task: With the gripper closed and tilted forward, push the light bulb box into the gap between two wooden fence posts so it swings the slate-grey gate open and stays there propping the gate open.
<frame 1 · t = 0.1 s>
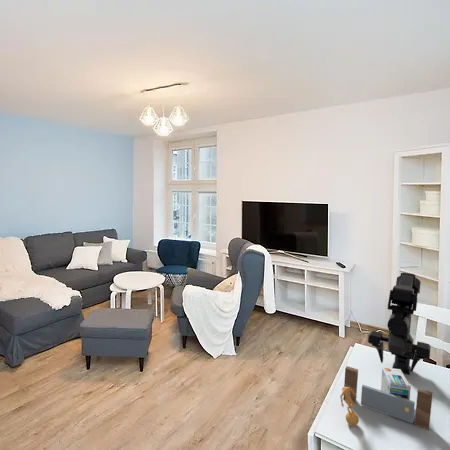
hand: (396, 366, 113), 15 cm above the table, tool pointing down, fingers open, 9 cm apart
light bulb box: (393, 404, 116), on the table
gate: (386, 404, 110), point 4 cm above the table, hinge at 0.0°
wooden fence posts: (390, 414, 110), on the table
figurine: (348, 423, 106), on the table
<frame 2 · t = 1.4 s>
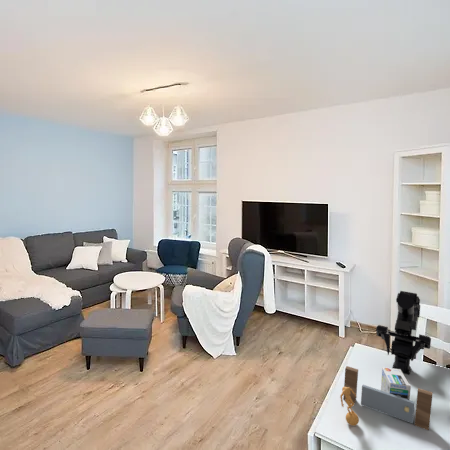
hand: (399, 357, 124), 12 cm above the table, tool tilted 45°, fingers open, 8 cm apart
nothing on the table moved.
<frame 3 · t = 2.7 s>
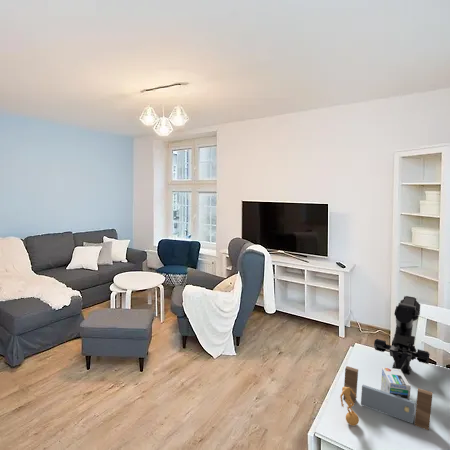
hand: (397, 372, 122), 8 cm above the table, tool tilted 45°, fingers closed
nothing on the table moved.
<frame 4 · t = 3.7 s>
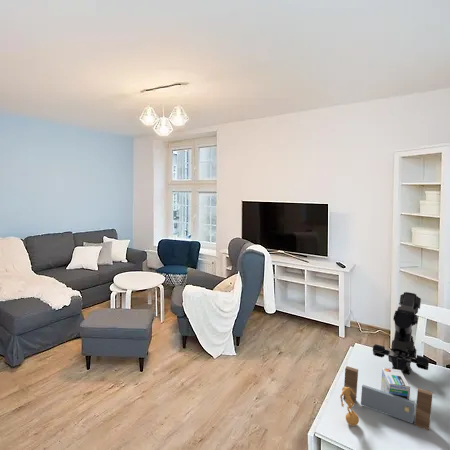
hand: (396, 379, 120), 7 cm above the table, tool tilted 45°, fingers closed
light bulb box: (393, 405, 116), on the table, touching gripper
everything else where it was.
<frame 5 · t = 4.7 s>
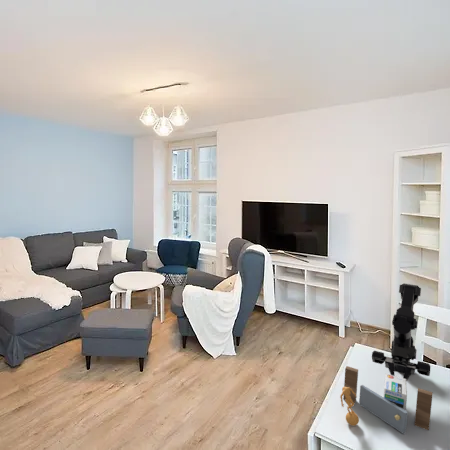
hand: (397, 386, 115), 7 cm above the table, tool tilted 45°, fingers closed on light bulb box, 2 cm apart
light bulb box: (393, 413, 111), on the table, touching gate, gripper
gate: (380, 408, 108), point 4 cm above the table, hinge at 25.0°, touching light bulb box
everything else where it was.
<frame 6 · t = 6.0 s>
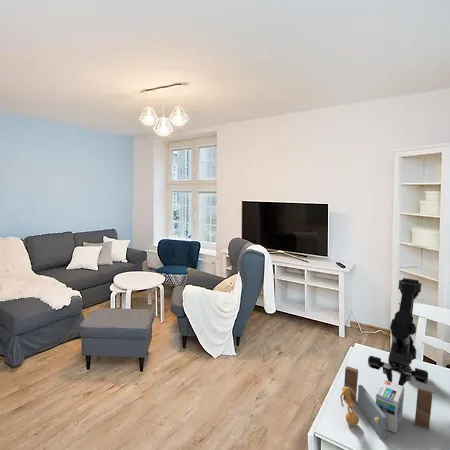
hand: (393, 393, 111), 6 cm above the table, tool tilted 45°, fingers closed
light bulb box: (388, 420, 108), on the table, touching gripper
gate: (369, 409, 107), point 4 cm above the table, hinge at 53.4°
everything else where it was.
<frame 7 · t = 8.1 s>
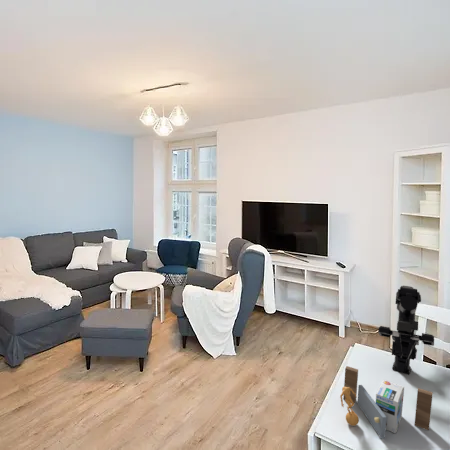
hand: (404, 358, 122), 13 cm above the table, tool tilted 35°, fingers closed
light bulb box: (387, 420, 108), on the table
everything else where it was.
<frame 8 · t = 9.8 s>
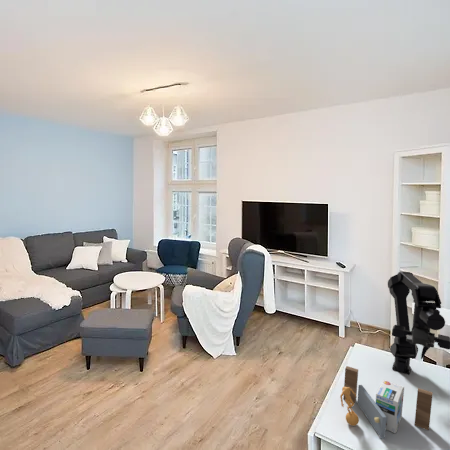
hand: (418, 357, 123), 13 cm above the table, tool pointing down, fingers closed
nothing on the table moved.
at the end: gate at +54° (first picture: +0°); light bulb box inside the target area (2.5 cm from its centre), on the table; light bulb box tilted 0° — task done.
